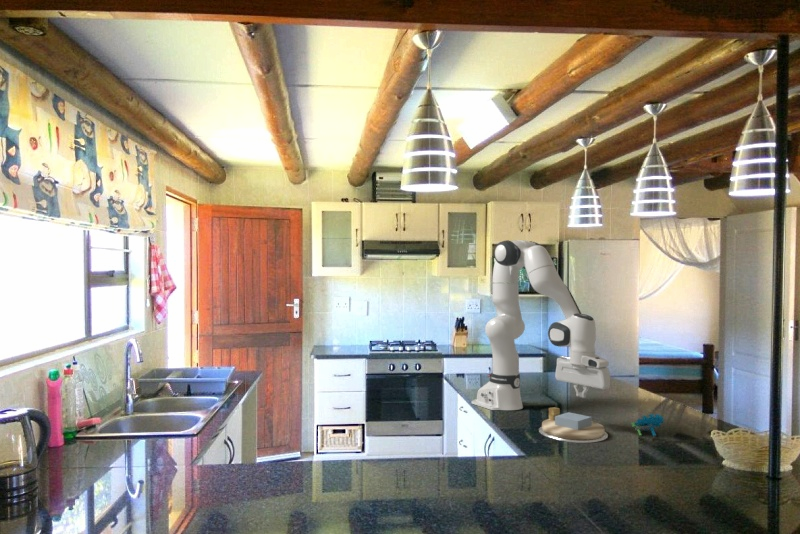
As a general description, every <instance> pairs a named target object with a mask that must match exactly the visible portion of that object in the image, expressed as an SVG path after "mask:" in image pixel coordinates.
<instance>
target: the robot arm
mask: <svg viewBox="0 0 800 534" xmlns="http://www.w3.org/2000/svg"><path fill="white" fill-rule="evenodd" d="M493 255H494V259H495V262H494V265H493V269H492V280H491V281H492V284H491V286H492V287H491V288H492V289H491V290H492V291H491V292H492V293H491V295H492V297H491V298H492V300H491V301H492V303H493V305H494V307H495V310H496V312H495V313H496V316H494V317H493V318H491V319H490V320H488V321H487V323H486V324H485V328H484V330H485V331H484V332H485V335H486V337H487V338H488V340H489V344H490V345H489V346H490V348H491V354H492V372H491V373H490V374H487V378H489V380H488V382H486V383H485V384H484V385H483V386H481V387H479V389H478V391H477V392H476V393H477V394H476V398H475V399H473V400H471V404H472V405H475V406H478V407H481V408H484V409H488V410H490V411H519V410H522V409H523V408H524V406H523V402H522V397H521V391H520V390H521V389H520V385H521V374H520V364H519V363H520V356H519V354H518V352H517V347H516V343H515V340H517V339H518V338H520V337H521V336H522V335H523V333H524V332H525V331H526V330H525V329H526V325H525V322H524V320H523V316H522V312H521V307H520V300H519V291H520V290H519V272H520V270H521V269H522V268H523V269H525V270H526V271H525V272H526V274H527V277H528V280H529V283H530V285H531V288H533V290H534V291H535V292H537V293H538V294H540V295H543V296H546V297H548V299H549V298H550V299H551V300H553V301H555V302H556V303H557V305H558V306H560V310H561V311H562V313H563V315H564V317H565V319H562V320H559V321H555V322H552V323H551V324H550V325H549V327H548V330H547V336H548V340H549V342H550V343H551V344H552V345H553V346H555V347H558V348H559V347H560V348H561V347H562V348H564V347H567V348H569V356H565V355H560V356H558V357H557V358H556V368H555V374H554V375H555V376H554V377H555V379H556V381H559V382H564V383H569V384H573V388H574V391H575V392H576V393H575V394H576V397H579V398H582V399H585V398H587V393H588V391H589V389H590V388H593V389H599V390H607V389H609V388H610V386H611V372H610V370H609V368H608V366H609V361H608V360H607V359H605V358H603V357H601V356H599V355H597V354H596V348H595V344H596V339H597V338H596V337H597V334H596V331H597V329H596V322H595V319H594V318H593V316H591V315H588V314H584V313H582V312H581V310H580V309H579V306H578V304H577V302H576V300H575V298H574V296H573V294H572V292H571V290H570V289H569V287H568V286H567V285H566V284H565V283H564V281H563V280H562V278H561V276H560V275H559V273H558V271H557V269H556V266H555V264H554V262H553V259H552V257H551V255H550V252H548V250H547V249H546V247H545V246H543V245H541V244H539V243H538V242H535V241H533V240H531V241H528V240H521V239H518V240H509V239H508V240H506V239H505V240H503V241H500V242H498V243H497V244H496V246H495V248H494V250H493ZM581 386H582V389H583V390H582V391H581V389H580V387H581Z"/></svg>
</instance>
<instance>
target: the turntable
mask: <svg viewBox="0 0 800 534" xmlns="http://www.w3.org/2000/svg"><path fill="white" fill-rule="evenodd" d="M558 415H561V410H560V408H559V407H548V418H547V419H545V420H543V421H542V422H541V427H542V430H543V431H544V432H545V433H547V434H549V435H552V436H555V437H560V438H566V439H575V440H591V439H598V438H601V437H603V436H604V435H605V432H606V429H605V426H604V425H603V424H601V423H598V422H596V421H593V420H592V426H589V427H586V428H583V429H580V430H575V429H571V428H567V427H562V426H558V425H555V416H558Z"/></svg>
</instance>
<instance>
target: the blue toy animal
mask: <svg viewBox="0 0 800 534" xmlns="http://www.w3.org/2000/svg"><path fill="white" fill-rule="evenodd" d="M648 415H649V417H647V416H646V415H643V416H642V417H641V418H642V419H640V418H637V420H636V422H631V426H632V427H633V428H634V429H635V431H637V433H638V435H639V436H643V434H642V433H641V432H642V431H643V430H644V431H645V432H648V431H649V430H650V432H651V434H652V436H653V437H656V436H657V434H656V431H655V429H656V427H658V428H659V427H661V424H664V417H663V416H662V415H660V414H655V415H654V414H653V413H652V414H648Z"/></svg>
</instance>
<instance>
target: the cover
mask: <svg viewBox="0 0 800 534" xmlns="http://www.w3.org/2000/svg"><path fill="white" fill-rule="evenodd" d="M592 421H593V419H592V416H588V415H584V414H580V413H579V414H578V413H575V412H569V411H568V412H565V413H560V415H558V416H555V425H558V426H562V427H567V428H571V429H575V430H580V429H583V428H586V427H589V426H592Z"/></svg>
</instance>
